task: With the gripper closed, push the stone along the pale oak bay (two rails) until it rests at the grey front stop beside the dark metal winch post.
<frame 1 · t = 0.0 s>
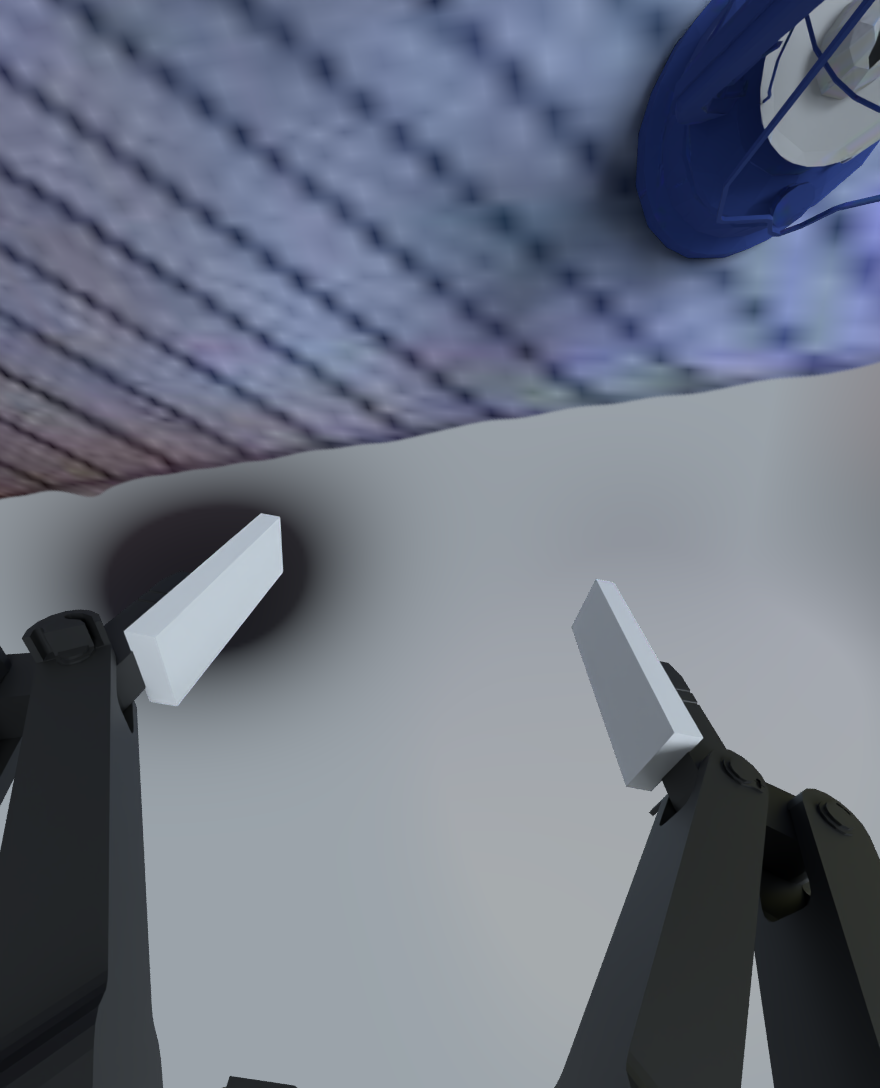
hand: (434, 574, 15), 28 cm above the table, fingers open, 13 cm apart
lantern: (742, 132, 27), on the table
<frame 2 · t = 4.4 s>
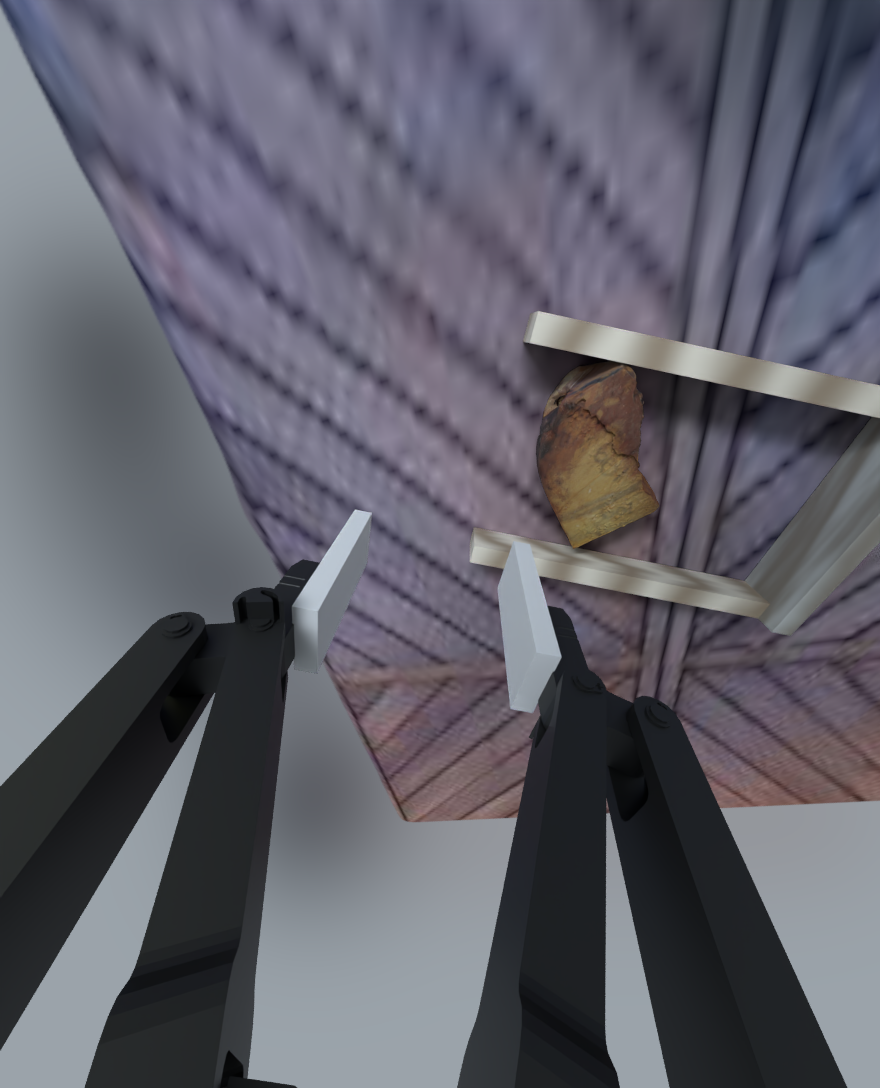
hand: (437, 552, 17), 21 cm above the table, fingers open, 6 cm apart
stone: (586, 457, 35), on the table
bay: (654, 479, 35), on the table
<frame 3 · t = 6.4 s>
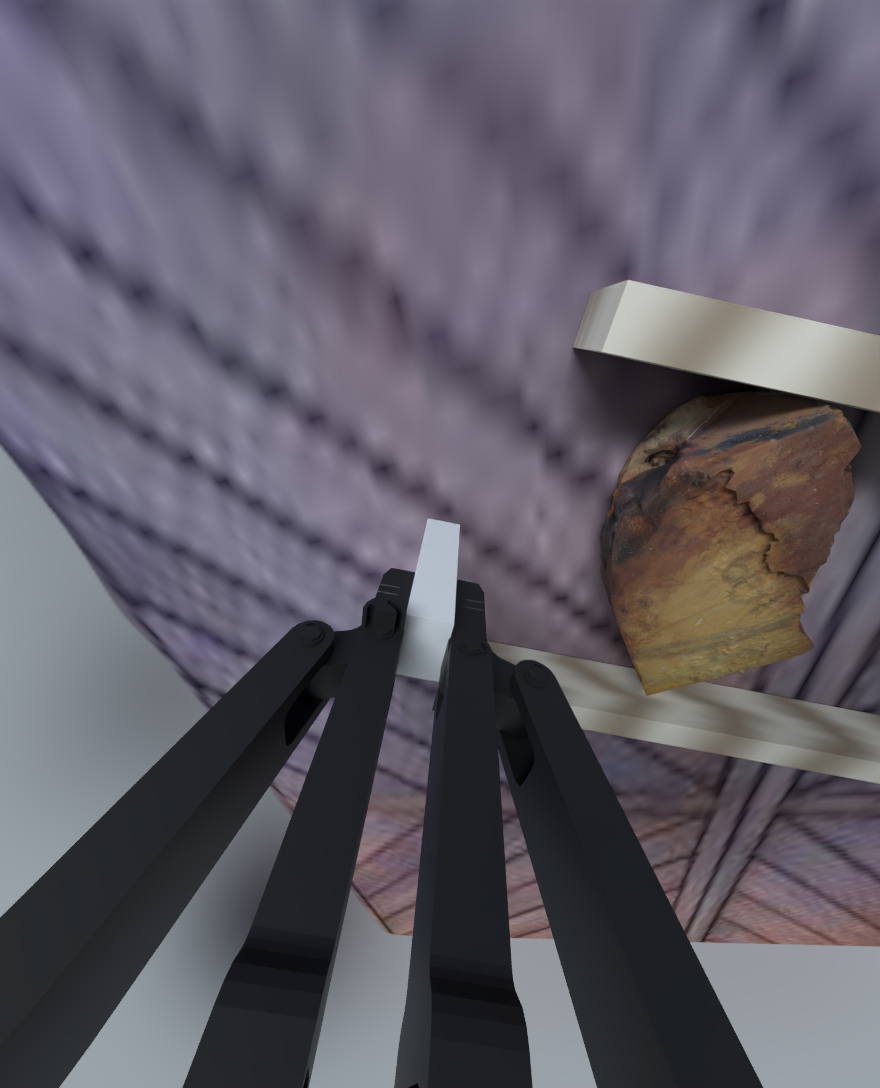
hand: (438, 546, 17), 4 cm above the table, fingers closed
stone: (679, 546, 21), on the table
bay: (784, 580, 21), on the table
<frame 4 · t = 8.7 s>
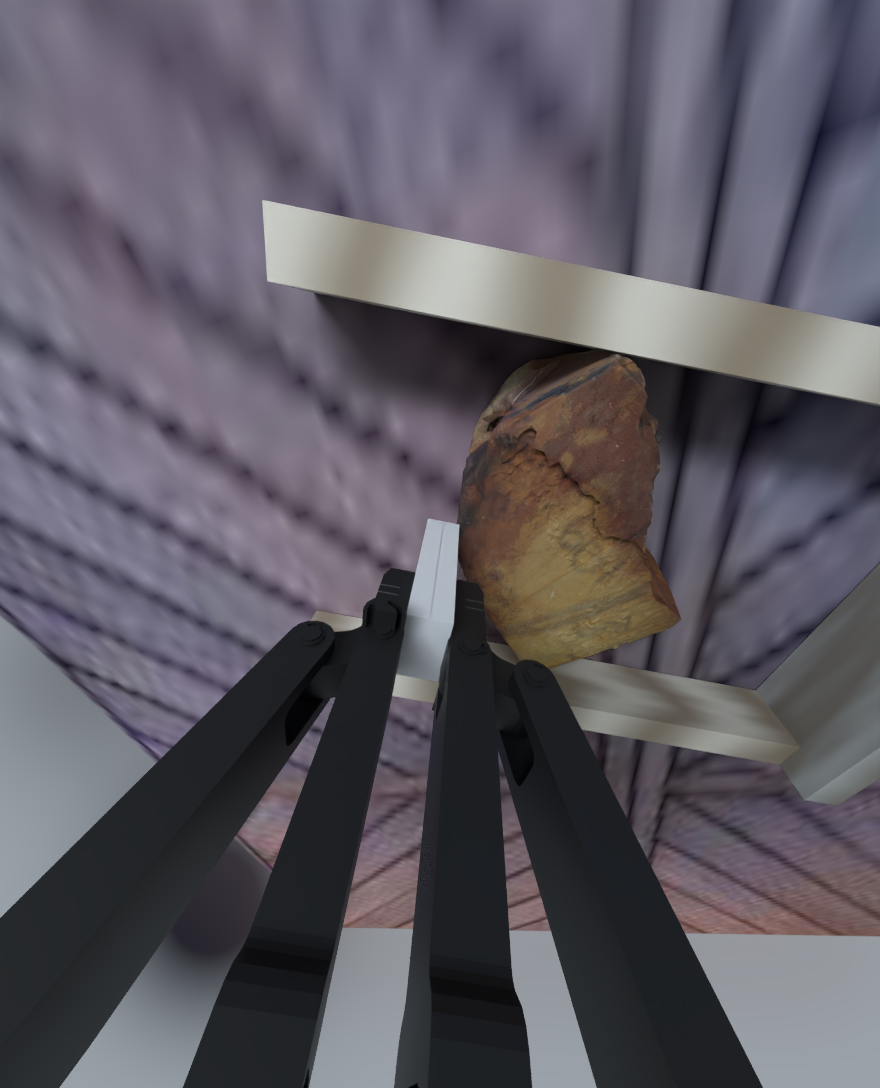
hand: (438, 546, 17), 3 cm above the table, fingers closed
stone: (553, 520, 20), on the table
bay: (597, 541, 20), on the table
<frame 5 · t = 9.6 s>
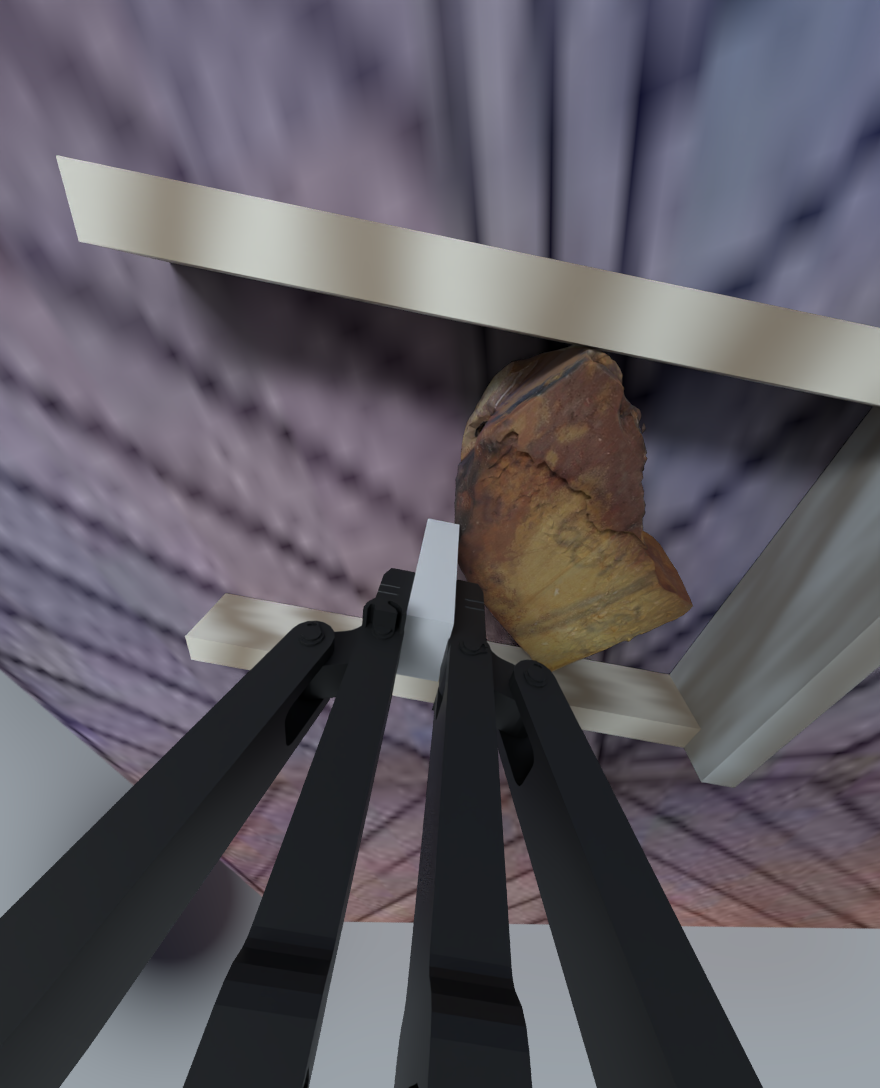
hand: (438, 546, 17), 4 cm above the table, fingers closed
stone: (553, 517, 20), on the table, touching gripper
bay: (489, 521, 20), on the table
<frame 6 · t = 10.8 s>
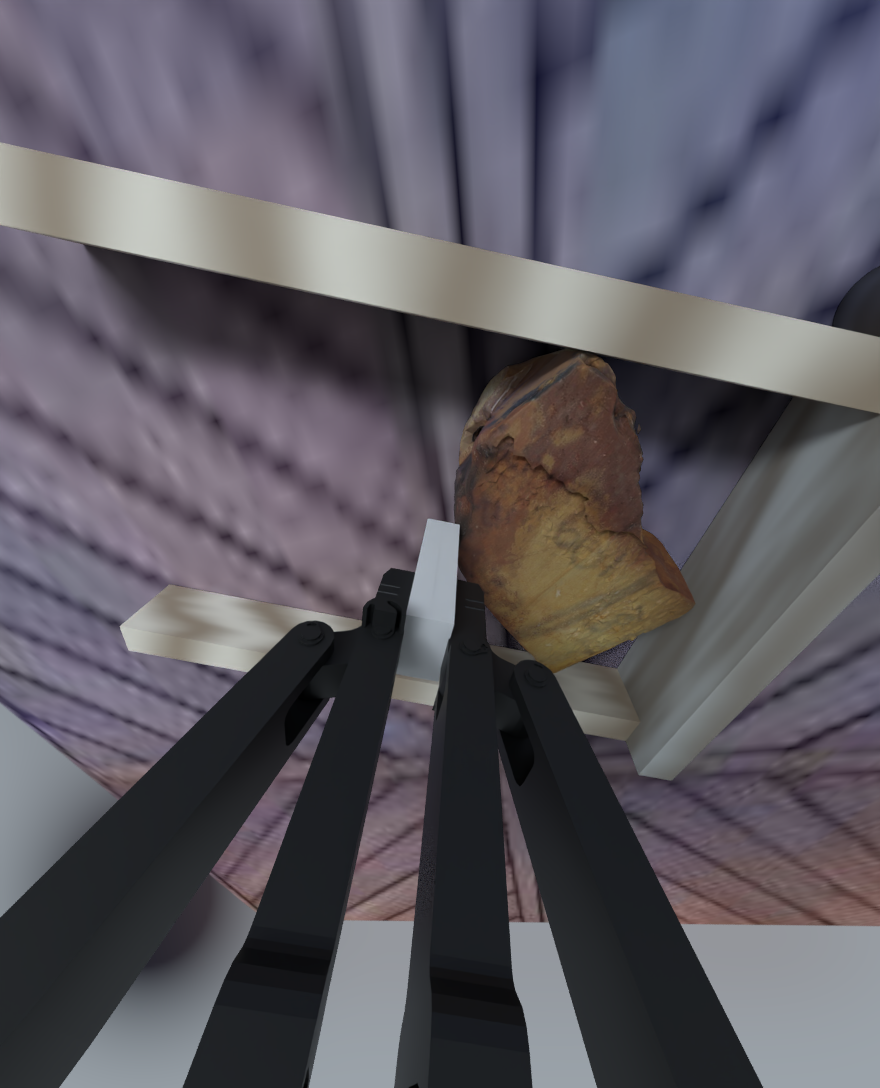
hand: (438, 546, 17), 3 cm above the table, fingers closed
stone: (553, 518, 20), on the table
bay: (425, 511, 20), on the table
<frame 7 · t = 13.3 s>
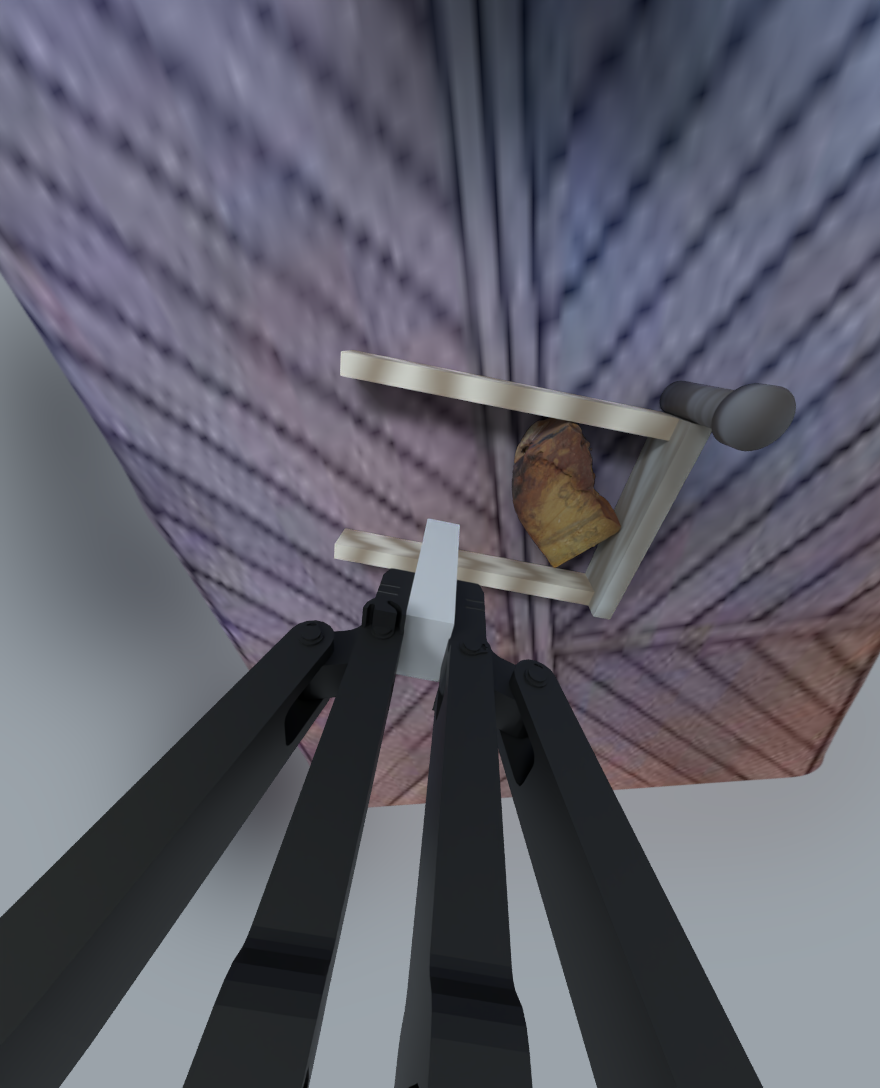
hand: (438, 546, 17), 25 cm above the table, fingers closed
stone: (556, 490, 41), on the table
bay: (486, 485, 41), on the table
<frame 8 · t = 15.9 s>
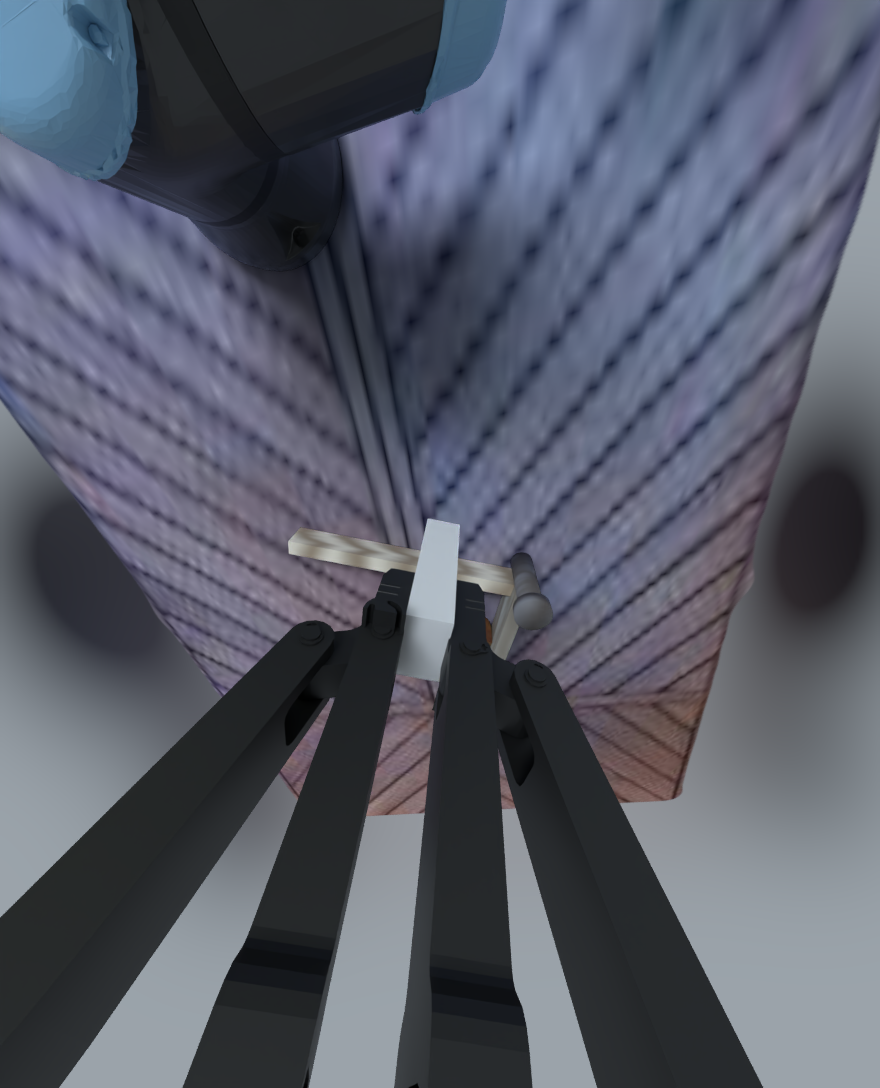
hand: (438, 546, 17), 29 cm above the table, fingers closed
bay: (400, 606, 58), on the table
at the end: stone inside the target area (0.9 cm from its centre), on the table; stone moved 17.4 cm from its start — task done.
